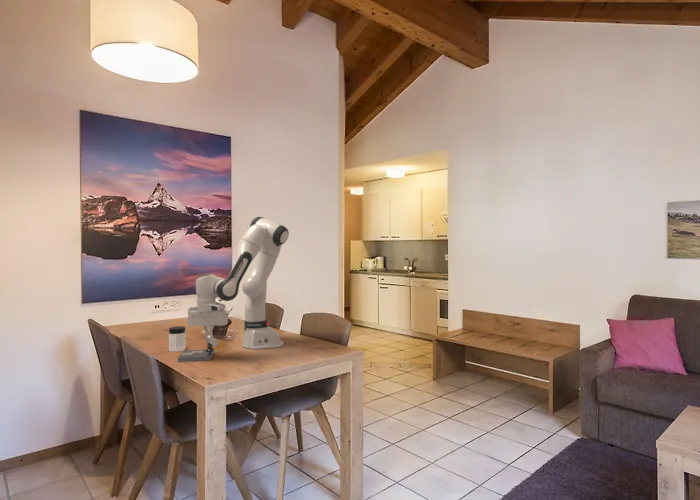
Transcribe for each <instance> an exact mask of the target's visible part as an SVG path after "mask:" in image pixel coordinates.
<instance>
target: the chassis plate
mask: <svg viewBox="0 0 700 500" xmlns="http://www.w3.org/2000/svg"><path fill="white" fill-rule="evenodd" d="M206 344H207V348H205V349H188V350H187V349H185V350H184V351H182V352H181V353H180V355H179V356H178V358H177V362H178V363H182V362H184V363H185V362H204V361H206V362H207V361H212V359H213V356H214V354H215V348H214V347H213V345H212V344H210V343H207V342H206Z"/></svg>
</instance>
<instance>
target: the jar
mask: <svg viewBox="0 0 700 500" xmlns="http://www.w3.org/2000/svg"><path fill="white" fill-rule="evenodd" d="M186 339H187V337H186V327H185V326H183V325H182V326H180V325H179V326H177V325H176V326H170V327H169V328H168V352H174V353H177V352H183V351H184V350H187V349H186V348H187V347H186V346H187V344H186V342H187V341H186Z"/></svg>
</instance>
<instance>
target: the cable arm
mask: <svg viewBox="0 0 700 500" xmlns="http://www.w3.org/2000/svg"><path fill="white" fill-rule="evenodd" d="M207 343H210V344H212V346H214V347H215V348H216V349H217V350H223V349H225V340H219V339H217V338H215V337H214V336H213V334H211V335H206V344H207Z"/></svg>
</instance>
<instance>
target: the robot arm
mask: <svg viewBox="0 0 700 500" xmlns="http://www.w3.org/2000/svg"><path fill="white" fill-rule="evenodd" d="M288 238H289V229H288V228H287V227H286V226H284V225H282V224H280V223H278V222H276V221H274V220H271V219H268V218H265V217H262V216H257V217H255V218H253V219H252V221H250V225H249V228H248V229H247V230H246V231H245V233H244V234H243V235H242V237H241V238H240V240H239V242H238V244H237V246H236V249H235V254H236V261H235V264H234V265H233V267H232V269H231V270H230V272H229V274H228V276H227V277H226V278H224V277H219V276H217V275H215V274H213V273H210V272H209V273H203V274H200V275H199V276H198V277H197V278H196V280H195V294H196V297H197V298H196V306H195V307H194V306H191V307H189V308H188V309H187V325H188V327H202V330H203V331H204V334H205V335H206V336H207V335H213V330H214V328H215V326H216V327H217V326H226V325H228V323H229V316H228V311H227V310H226V304H224V303H222V302H218V301H216V298H218V299H220V300H222V301H224V302H229V301H232V300H234V299H236V297H238V294H239V288H240V283H241V281H242V280H243V278H244V277H245V274H246V272H247V270H248V268H249V267H250V265H251V263H252V262H253V264H252V265H251V267H250V268H249V271H248V273H247V274H246V277H245V279H244V281H243V283H242V285H241V288H242V292H243V293H244V294H245V296H246V299H245V306H244V322H243V327H244V328H243V329H244V336H243V343H242V347H243V348H246V349H250V350H251V349H252V350H261V349H272V348H273V349H274V348H281V347H283V346H284V341H283V340H281V339H280V335H279V334H278V332H277V331H276V330H274V329H273V328H272V327H270V324H271V323H270V321H269V320H268V319H266V302H267V301H266V300H267V291H268V290H267V289H268V288H267V286H268V282H267V281H268V279H269V277H270V275H271V273H272V271H273V269H274V267H275V265H276V262H277V260H278V257H279V255H280V252H281V248H282V245H283V244H285V243H286V242H287V241H288ZM207 327H209V330H208V328H207Z"/></svg>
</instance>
